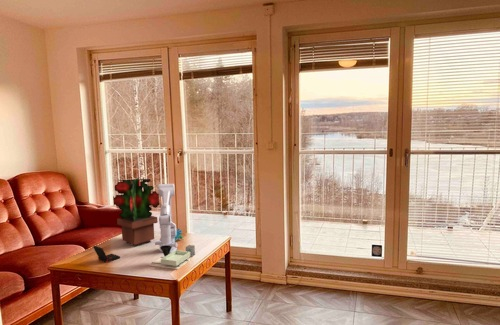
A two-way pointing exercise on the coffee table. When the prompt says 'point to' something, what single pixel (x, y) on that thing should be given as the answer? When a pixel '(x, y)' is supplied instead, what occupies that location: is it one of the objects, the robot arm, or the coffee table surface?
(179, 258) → the mint green storage bin
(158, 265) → the rail board
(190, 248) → the part block
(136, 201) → the potted plant
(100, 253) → the handheld gaming console
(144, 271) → the coffee table surface
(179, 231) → the gear
